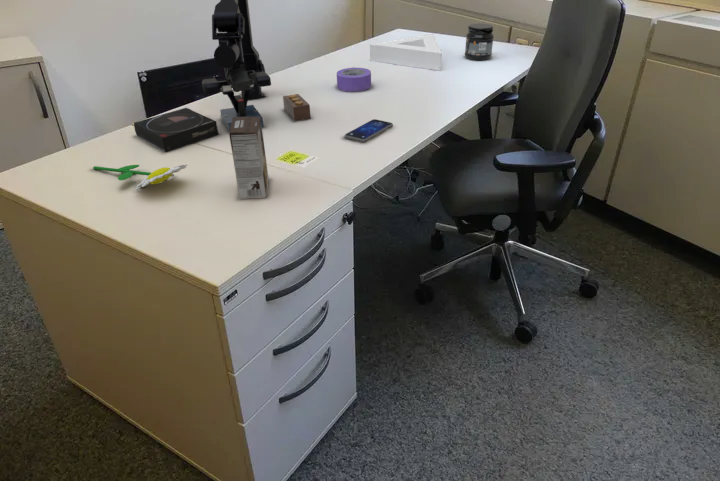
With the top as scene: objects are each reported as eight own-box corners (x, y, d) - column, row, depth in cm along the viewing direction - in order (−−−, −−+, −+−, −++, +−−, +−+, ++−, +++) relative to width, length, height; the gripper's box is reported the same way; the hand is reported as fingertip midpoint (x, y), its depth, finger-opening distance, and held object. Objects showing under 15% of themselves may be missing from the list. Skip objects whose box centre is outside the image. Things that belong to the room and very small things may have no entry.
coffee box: (242, 181, 132) (232, 116, 123) (269, 179, 132) (261, 115, 123) (238, 199, 124) (227, 132, 115) (267, 198, 124) (258, 130, 115)
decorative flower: (76, 187, 135) (160, 199, 121) (69, 169, 133) (154, 179, 118) (119, 170, 145) (201, 179, 130) (113, 152, 143) (196, 159, 128)
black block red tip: (235, 110, 164) (233, 94, 161) (241, 109, 164) (239, 94, 162) (240, 117, 159) (237, 101, 157) (246, 116, 160) (244, 100, 157)
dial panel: (221, 119, 166) (219, 109, 165) (254, 114, 170) (253, 104, 168) (229, 133, 157) (227, 122, 155) (264, 127, 160) (263, 116, 159)
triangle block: (440, 70, 204) (441, 53, 201) (370, 71, 205) (370, 54, 201) (432, 49, 229) (433, 34, 226) (370, 51, 230) (369, 35, 226)
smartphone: (342, 135, 152) (373, 118, 162) (342, 138, 152) (373, 121, 162) (364, 140, 148) (394, 123, 158) (364, 143, 148) (394, 126, 159)
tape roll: (331, 90, 188) (330, 75, 185) (345, 80, 197) (344, 66, 194) (363, 93, 184) (363, 78, 181) (376, 83, 193) (376, 68, 190)
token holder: (284, 109, 172) (282, 94, 170) (299, 107, 174) (298, 92, 171) (294, 121, 164) (293, 105, 161) (310, 118, 165) (309, 103, 163)
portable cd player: (187, 120, 167) (185, 107, 164) (218, 134, 156) (216, 121, 154) (136, 135, 157) (132, 122, 155) (165, 152, 147) (162, 138, 145)
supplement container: (475, 52, 224) (478, 21, 218) (496, 57, 218) (500, 25, 211) (458, 57, 218) (461, 25, 212) (480, 62, 212) (483, 30, 205)
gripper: (204, 69, 144) (213, 126, 152) (273, 60, 150) (279, 115, 158) (197, 59, 152) (206, 113, 161) (262, 51, 158) (268, 103, 167)
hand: (240, 111), depth 162 cm, fingers closed on black block red tip, 2 cm apart
